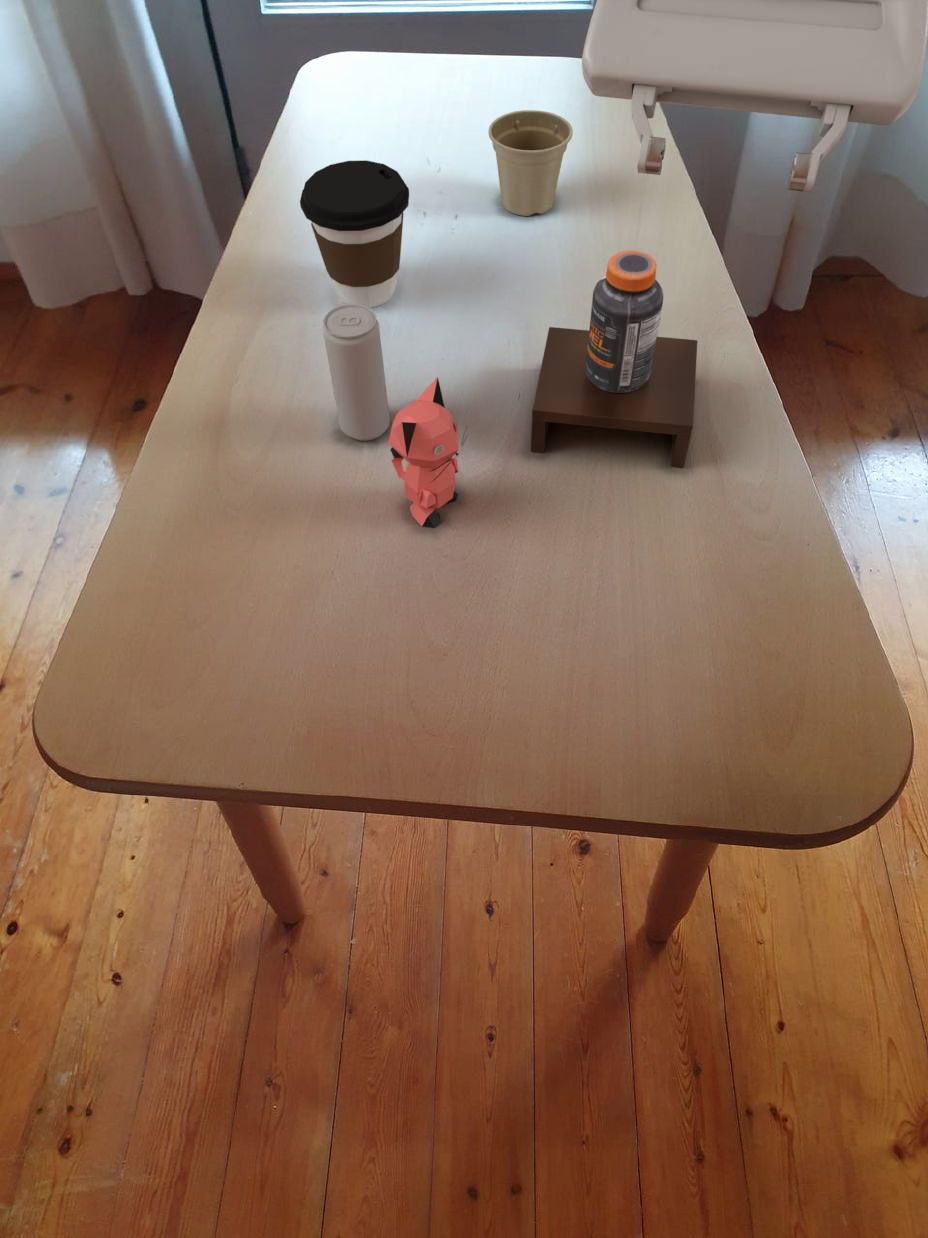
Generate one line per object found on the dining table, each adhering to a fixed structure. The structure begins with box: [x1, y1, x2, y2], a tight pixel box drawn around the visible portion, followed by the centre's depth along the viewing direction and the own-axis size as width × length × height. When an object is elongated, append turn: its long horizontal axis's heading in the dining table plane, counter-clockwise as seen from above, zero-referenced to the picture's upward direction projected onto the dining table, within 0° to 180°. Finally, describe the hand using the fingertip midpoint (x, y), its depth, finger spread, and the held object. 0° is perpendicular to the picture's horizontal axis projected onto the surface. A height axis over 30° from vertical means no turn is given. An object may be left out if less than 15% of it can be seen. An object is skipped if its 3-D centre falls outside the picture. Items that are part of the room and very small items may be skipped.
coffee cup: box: [299, 160, 410, 309], centre depth 98 cm, size 11×11×12 cm
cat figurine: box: [388, 376, 468, 529], centre depth 79 cm, size 7×7×12 cm
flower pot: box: [488, 109, 574, 217], centre depth 109 cm, size 9×9×9 cm
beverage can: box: [322, 303, 391, 442], centre depth 85 cm, size 5×5×12 cm
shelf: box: [530, 326, 698, 469], centre depth 88 cm, size 14×12×5 cm
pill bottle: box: [585, 249, 664, 393], centre depth 81 cm, size 6×6×11 cm
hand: (723, 179), depth 60 cm, fingers open, 8 cm apart
